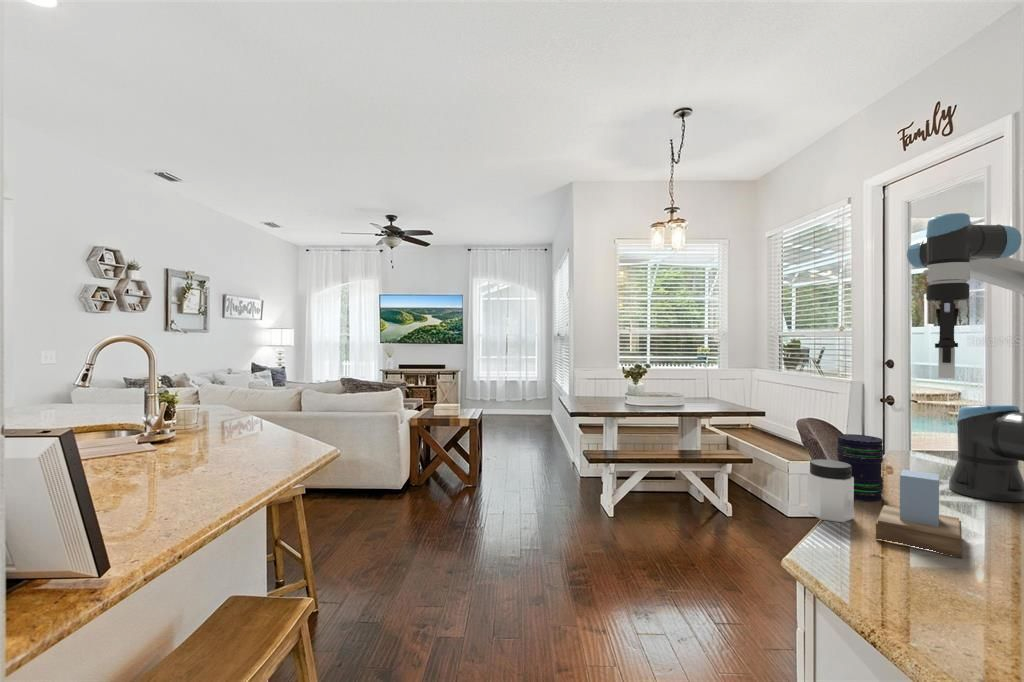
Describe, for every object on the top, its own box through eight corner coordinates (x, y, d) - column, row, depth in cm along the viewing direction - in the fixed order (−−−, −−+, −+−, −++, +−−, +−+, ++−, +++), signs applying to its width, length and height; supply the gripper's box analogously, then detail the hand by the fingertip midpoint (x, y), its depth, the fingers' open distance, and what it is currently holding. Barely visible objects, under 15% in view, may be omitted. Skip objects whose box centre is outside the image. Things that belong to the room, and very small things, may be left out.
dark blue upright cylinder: (841, 499, 130) (841, 439, 130) (832, 488, 139) (832, 433, 139) (888, 504, 126) (889, 442, 126) (876, 492, 135) (876, 435, 135)
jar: (840, 525, 112) (840, 470, 112) (801, 514, 119) (801, 462, 118) (859, 517, 117) (859, 464, 117) (821, 507, 123) (821, 457, 123)
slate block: (901, 512, 108) (902, 469, 108) (938, 518, 104) (939, 474, 104) (899, 519, 104) (900, 475, 104) (938, 527, 100) (938, 480, 100)
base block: (882, 522, 113) (882, 504, 113) (960, 537, 105) (961, 517, 105) (875, 540, 103) (875, 520, 103) (961, 558, 95) (961, 536, 95)
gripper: (928, 288, 130) (927, 372, 130) (924, 279, 111) (923, 378, 111) (968, 286, 125) (967, 374, 125) (970, 277, 106) (970, 380, 106)
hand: (946, 376), depth 118 cm, fingers open, 13 cm apart
